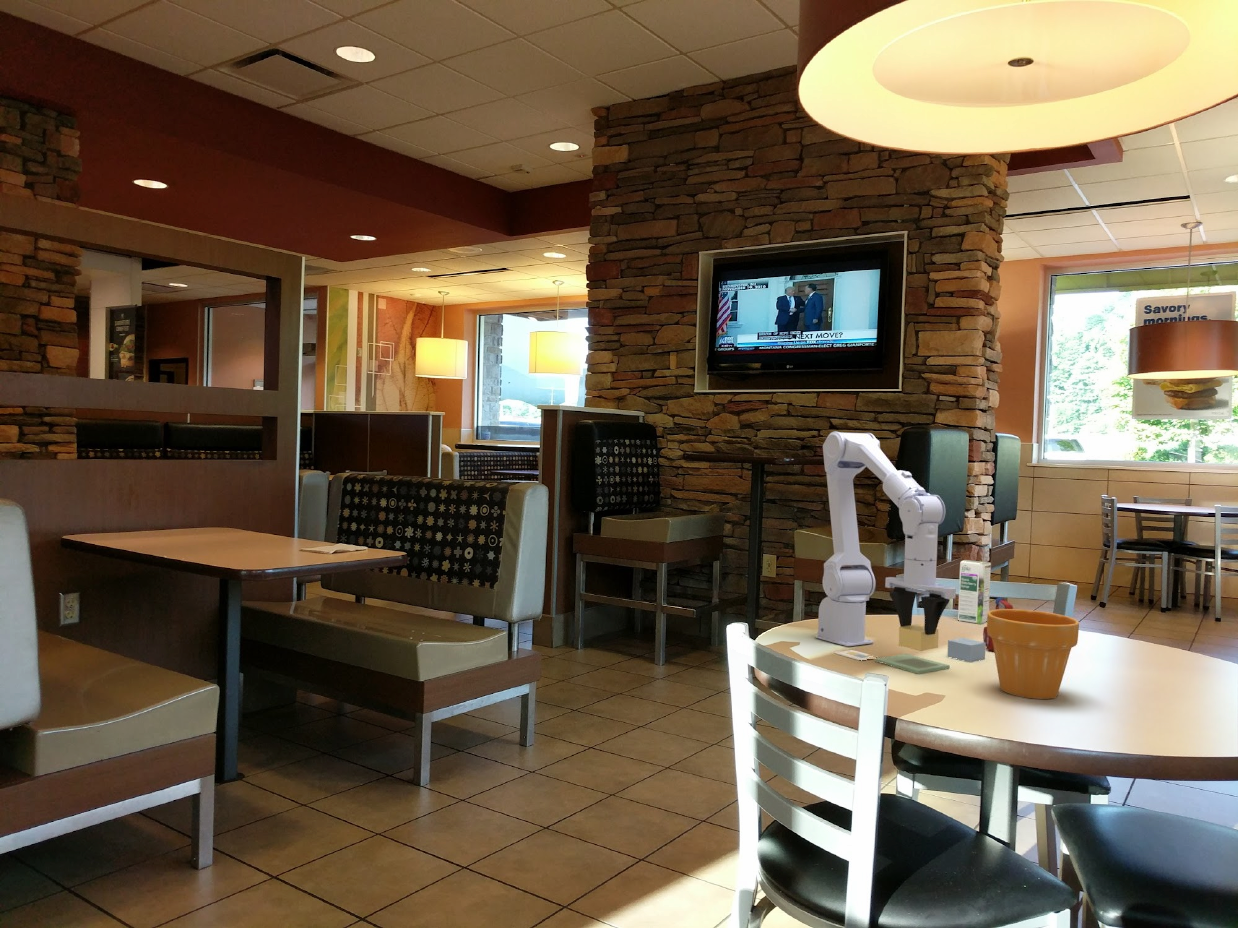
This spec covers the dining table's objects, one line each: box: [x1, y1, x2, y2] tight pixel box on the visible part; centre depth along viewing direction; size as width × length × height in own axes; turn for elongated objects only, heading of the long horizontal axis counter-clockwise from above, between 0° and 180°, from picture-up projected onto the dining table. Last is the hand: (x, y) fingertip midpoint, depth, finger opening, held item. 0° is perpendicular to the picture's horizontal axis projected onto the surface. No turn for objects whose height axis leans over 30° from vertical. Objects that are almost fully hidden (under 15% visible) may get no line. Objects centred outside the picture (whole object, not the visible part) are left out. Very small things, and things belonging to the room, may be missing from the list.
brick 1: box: [898, 623, 939, 652], centre depth 168 cm, size 5×5×4 cm
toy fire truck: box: [982, 596, 1014, 652], centre depth 186 cm, size 7×12×10 cm, turn 165°
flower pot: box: [986, 608, 1080, 700], centre depth 152 cm, size 14×14×13 cm
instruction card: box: [834, 649, 874, 662], centre depth 175 cm, size 7×5×1 cm
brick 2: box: [946, 637, 987, 663], centre depth 176 cm, size 5×5×4 cm
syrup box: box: [957, 559, 992, 625], centre depth 216 cm, size 6×6×14 cm
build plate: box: [874, 653, 951, 675], centre depth 169 cm, size 10×9×1 cm
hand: (917, 631), depth 168 cm, fingers closed on brick 1, 5 cm apart
